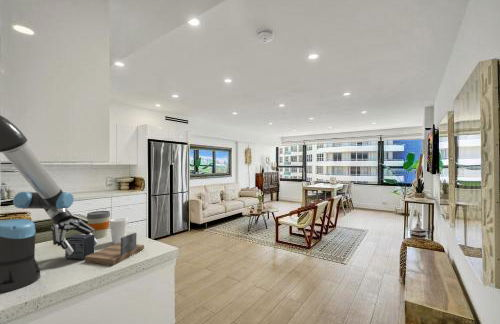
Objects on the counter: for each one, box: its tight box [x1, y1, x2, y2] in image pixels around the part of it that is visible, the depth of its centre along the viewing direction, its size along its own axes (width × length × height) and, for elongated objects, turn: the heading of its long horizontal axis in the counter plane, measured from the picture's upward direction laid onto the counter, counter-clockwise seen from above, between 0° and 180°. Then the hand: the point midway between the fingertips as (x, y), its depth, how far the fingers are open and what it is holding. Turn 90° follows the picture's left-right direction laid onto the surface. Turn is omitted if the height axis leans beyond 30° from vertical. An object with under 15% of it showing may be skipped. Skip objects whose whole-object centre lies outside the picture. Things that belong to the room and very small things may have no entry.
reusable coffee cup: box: [86, 210, 111, 239], centre depth 148 cm, size 13×12×15 cm
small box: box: [64, 233, 95, 261], centre depth 114 cm, size 11×6×10 cm, turn 84°
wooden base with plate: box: [84, 232, 145, 266], centre depth 116 cm, size 20×16×10 cm
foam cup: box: [109, 217, 129, 245], centre depth 137 cm, size 10×9×13 cm
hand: (84, 248), depth 113 cm, fingers open, 12 cm apart
